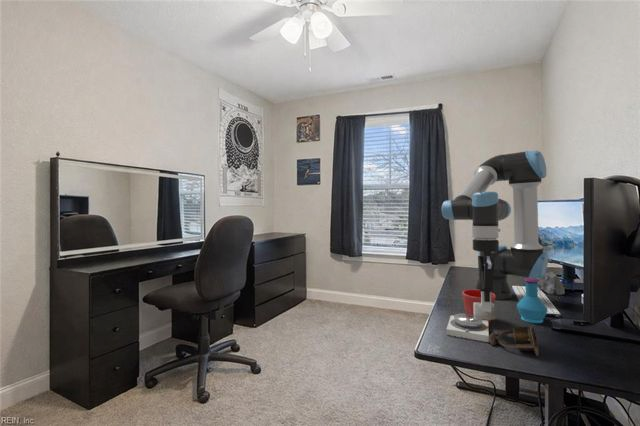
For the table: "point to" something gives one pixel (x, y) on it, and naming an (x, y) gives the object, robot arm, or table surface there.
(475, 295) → the flower pot
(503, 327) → the table surface
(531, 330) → the brown piece
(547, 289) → the mineral rock
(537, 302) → the perfume bottle
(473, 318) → the dial
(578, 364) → the table surface
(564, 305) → the table surface
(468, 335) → the dial housing
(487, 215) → the robot arm
